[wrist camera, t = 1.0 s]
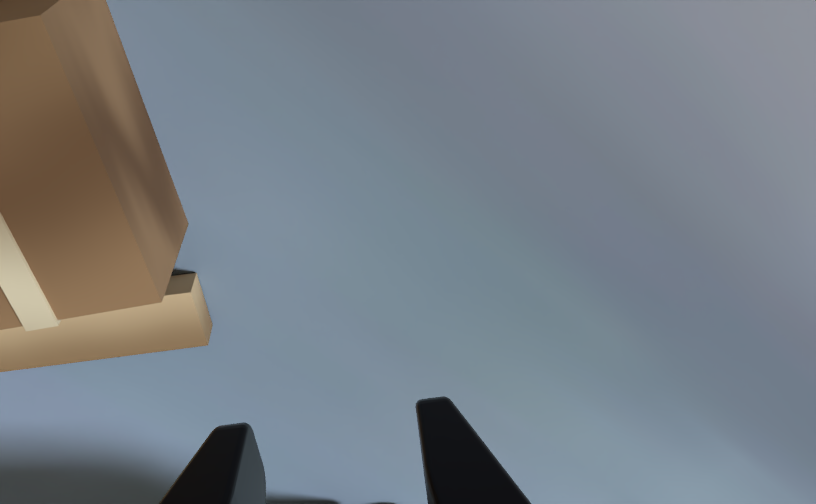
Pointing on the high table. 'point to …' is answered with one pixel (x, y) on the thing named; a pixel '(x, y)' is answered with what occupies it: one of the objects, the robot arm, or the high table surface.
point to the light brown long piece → (114, 331)
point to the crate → (77, 171)
